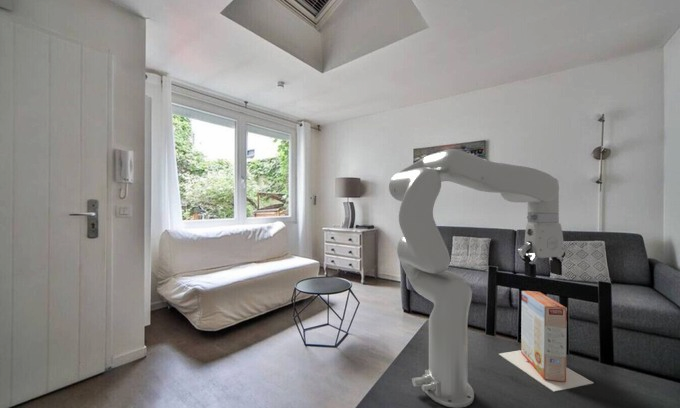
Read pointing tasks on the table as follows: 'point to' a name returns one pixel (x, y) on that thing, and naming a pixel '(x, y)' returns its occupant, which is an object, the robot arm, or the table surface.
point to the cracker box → (544, 335)
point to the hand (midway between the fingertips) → (543, 275)
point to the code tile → (522, 363)
